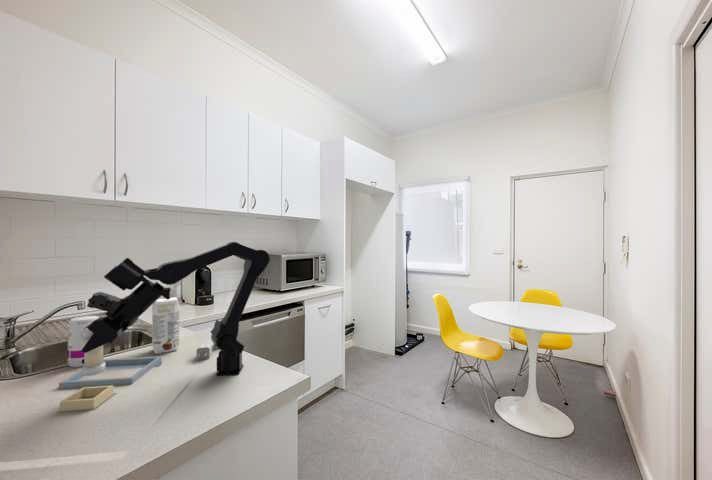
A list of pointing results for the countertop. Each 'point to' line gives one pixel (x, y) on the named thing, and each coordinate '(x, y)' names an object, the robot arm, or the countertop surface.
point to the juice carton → (165, 325)
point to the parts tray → (115, 364)
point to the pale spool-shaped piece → (92, 357)
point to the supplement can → (77, 339)
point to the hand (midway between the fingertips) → (87, 348)
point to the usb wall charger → (204, 351)
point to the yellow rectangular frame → (86, 399)
